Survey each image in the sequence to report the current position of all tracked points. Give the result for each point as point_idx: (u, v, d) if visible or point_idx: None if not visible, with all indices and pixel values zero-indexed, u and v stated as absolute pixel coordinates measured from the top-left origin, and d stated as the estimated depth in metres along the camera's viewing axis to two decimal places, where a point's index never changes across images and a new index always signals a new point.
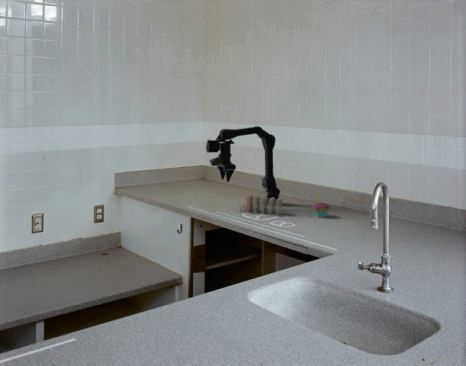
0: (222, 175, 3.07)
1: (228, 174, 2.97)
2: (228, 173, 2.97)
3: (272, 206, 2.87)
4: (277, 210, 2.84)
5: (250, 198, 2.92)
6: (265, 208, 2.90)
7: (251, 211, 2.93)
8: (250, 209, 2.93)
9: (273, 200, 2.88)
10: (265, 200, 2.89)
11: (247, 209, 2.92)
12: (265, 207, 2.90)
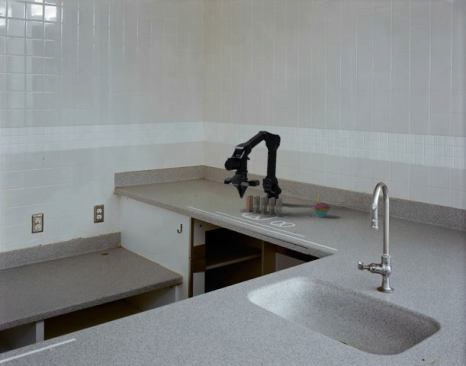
0: None
1: (243, 190, 2.94)
2: (243, 189, 2.94)
3: (272, 206, 2.87)
4: (277, 210, 2.84)
5: (250, 198, 2.92)
6: (265, 208, 2.90)
7: (251, 211, 2.93)
8: (250, 209, 2.93)
9: (273, 200, 2.88)
10: (265, 200, 2.89)
11: (247, 209, 2.92)
12: (265, 207, 2.90)
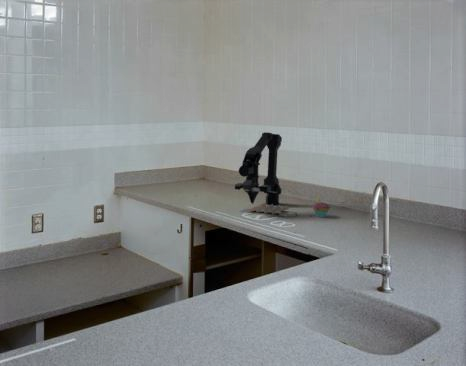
0: None
1: (254, 195, 2.92)
2: (254, 194, 2.92)
3: (280, 211, 2.86)
4: (283, 214, 2.83)
5: (262, 207, 2.90)
6: None
7: (251, 211, 2.93)
8: (252, 210, 2.93)
9: (285, 209, 2.85)
10: None
11: (251, 209, 2.91)
12: None
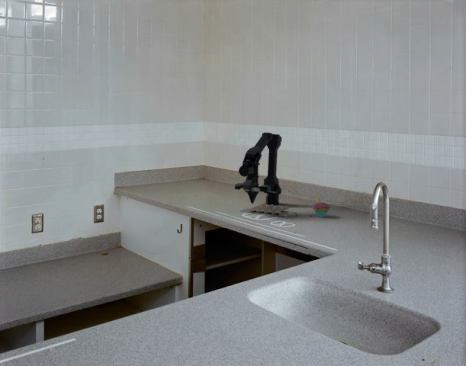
0: None
1: (254, 195, 2.92)
2: (254, 194, 2.92)
3: (280, 211, 2.86)
4: (283, 214, 2.83)
5: (262, 207, 2.90)
6: None
7: (251, 211, 2.93)
8: (252, 210, 2.93)
9: (285, 209, 2.85)
10: None
11: (251, 209, 2.91)
12: None
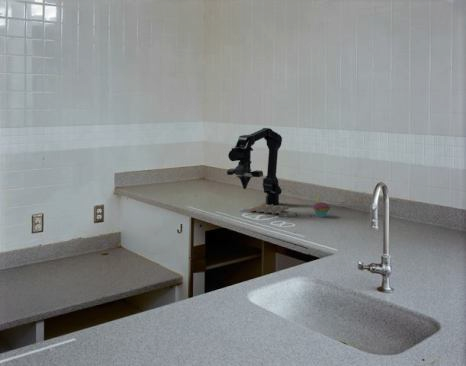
0: None
1: (247, 181, 2.93)
2: (247, 180, 2.93)
3: (280, 211, 2.86)
4: (283, 214, 2.83)
5: (262, 207, 2.90)
6: None
7: (251, 211, 2.93)
8: (252, 210, 2.93)
9: (285, 209, 2.85)
10: None
11: (251, 209, 2.91)
12: None
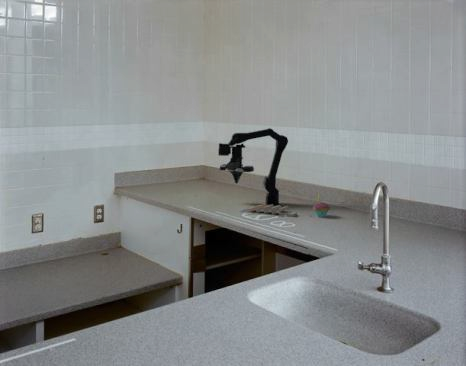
0: None
1: (238, 176, 3.10)
2: (238, 175, 3.10)
3: (280, 211, 2.86)
4: (283, 214, 2.83)
5: (262, 207, 2.90)
6: None
7: (251, 211, 2.93)
8: (252, 210, 2.93)
9: (285, 209, 2.85)
10: None
11: (251, 209, 2.91)
12: None
